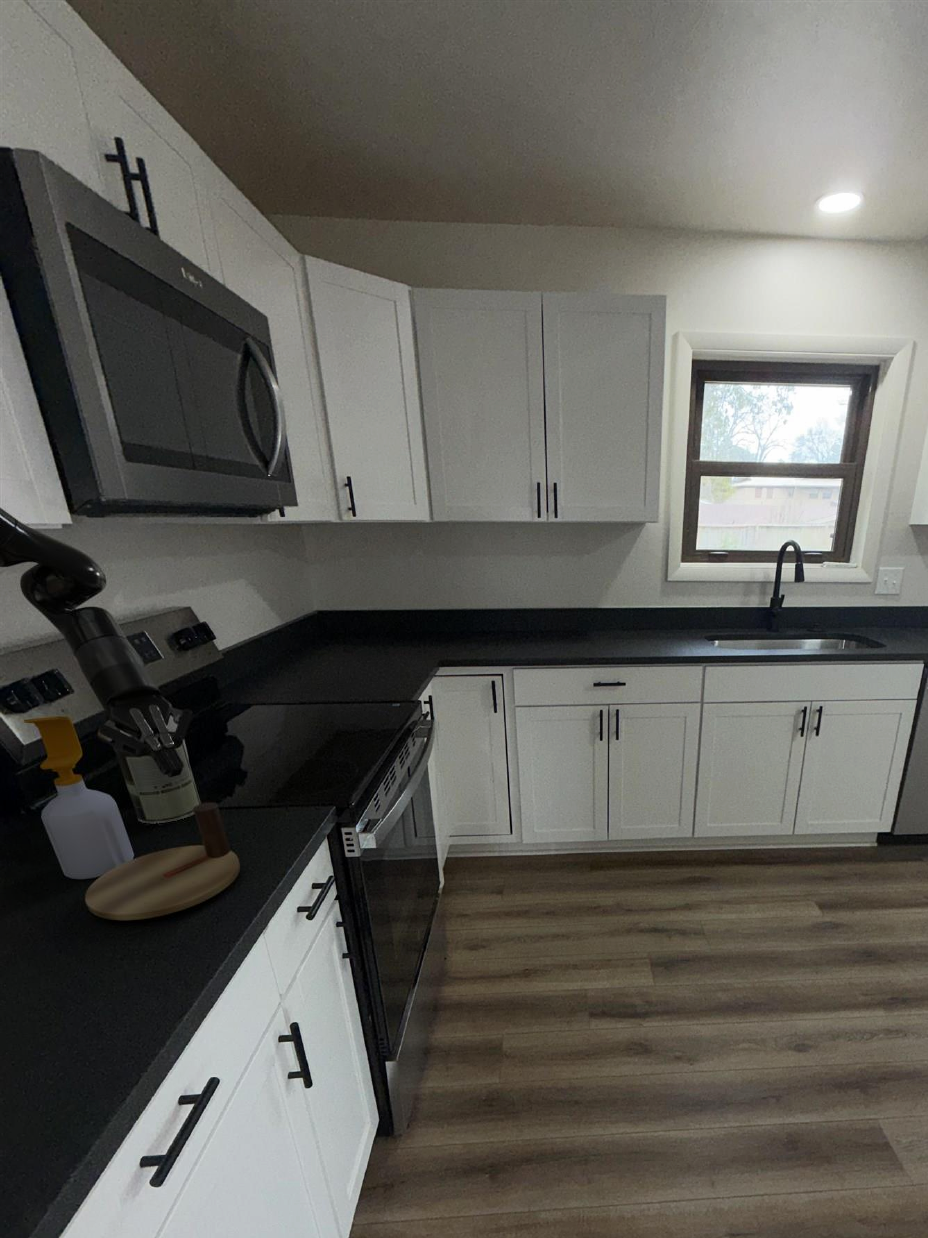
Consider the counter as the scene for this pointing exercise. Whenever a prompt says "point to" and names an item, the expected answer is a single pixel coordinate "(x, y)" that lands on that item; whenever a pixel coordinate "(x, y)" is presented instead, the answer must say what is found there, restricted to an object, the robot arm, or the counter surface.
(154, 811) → the coffee can
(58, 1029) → the counter surface
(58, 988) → the counter surface
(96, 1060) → the counter surface
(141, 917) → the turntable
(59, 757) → the soap bottle
